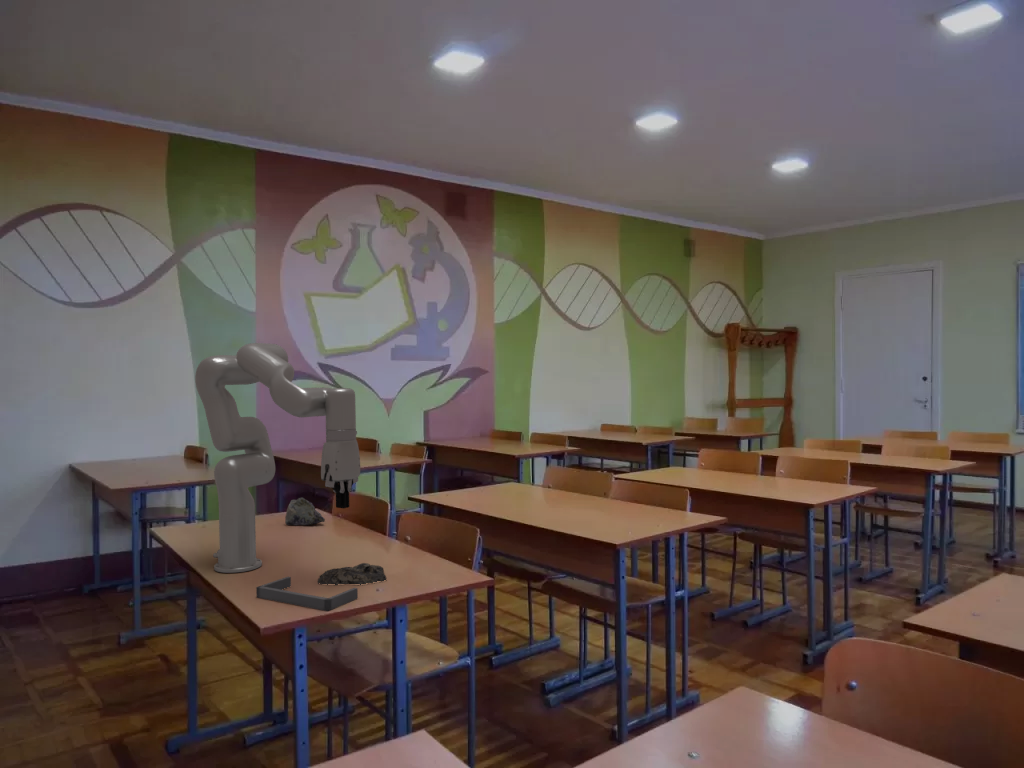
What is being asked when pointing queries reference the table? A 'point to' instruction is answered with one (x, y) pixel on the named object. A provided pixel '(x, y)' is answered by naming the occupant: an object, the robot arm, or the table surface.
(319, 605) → the frame
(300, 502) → the mineral rock
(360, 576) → the grey rough rock slab
